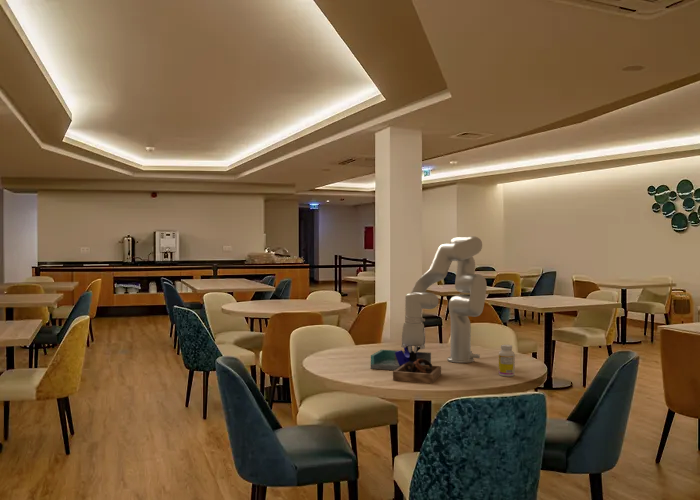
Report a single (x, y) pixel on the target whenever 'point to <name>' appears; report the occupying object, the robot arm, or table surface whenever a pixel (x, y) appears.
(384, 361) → the grey teal tray
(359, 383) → the table surface
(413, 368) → the brown looped piece
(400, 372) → the wooden tray
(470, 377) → the table surface
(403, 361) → the blue arch block
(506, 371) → the supplement bottle
